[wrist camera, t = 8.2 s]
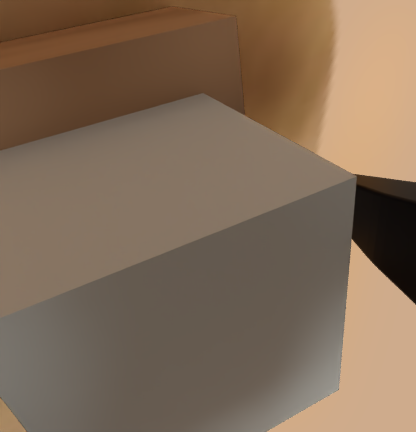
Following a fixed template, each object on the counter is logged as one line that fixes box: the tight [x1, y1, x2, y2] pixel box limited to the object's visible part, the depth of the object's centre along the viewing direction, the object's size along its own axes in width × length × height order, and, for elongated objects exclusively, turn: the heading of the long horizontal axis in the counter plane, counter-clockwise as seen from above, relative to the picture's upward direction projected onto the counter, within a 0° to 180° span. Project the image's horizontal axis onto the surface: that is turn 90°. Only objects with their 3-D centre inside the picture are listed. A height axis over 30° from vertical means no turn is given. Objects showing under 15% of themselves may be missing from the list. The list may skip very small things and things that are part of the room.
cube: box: [0, 93, 357, 432], centre depth 8 cm, size 5×5×5 cm
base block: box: [0, 6, 245, 151], centre depth 11 cm, size 8×7×4 cm
